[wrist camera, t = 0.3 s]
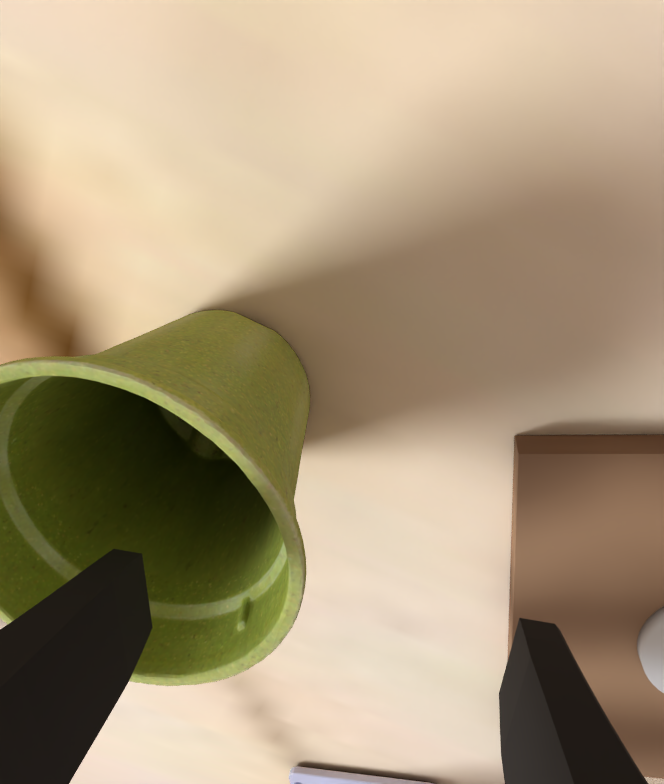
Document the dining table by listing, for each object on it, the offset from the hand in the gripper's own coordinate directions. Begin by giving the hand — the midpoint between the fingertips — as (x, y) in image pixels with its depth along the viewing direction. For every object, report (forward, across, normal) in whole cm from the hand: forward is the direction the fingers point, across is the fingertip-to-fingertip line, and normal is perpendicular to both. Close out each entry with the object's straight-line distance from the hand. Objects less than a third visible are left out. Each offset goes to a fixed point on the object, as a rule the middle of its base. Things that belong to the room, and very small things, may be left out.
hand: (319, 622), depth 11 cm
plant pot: (+10, +5, 0) cm, 12 cm away
